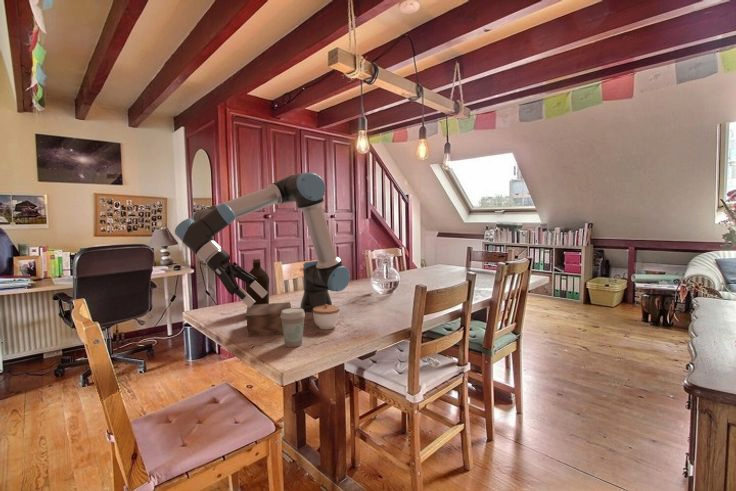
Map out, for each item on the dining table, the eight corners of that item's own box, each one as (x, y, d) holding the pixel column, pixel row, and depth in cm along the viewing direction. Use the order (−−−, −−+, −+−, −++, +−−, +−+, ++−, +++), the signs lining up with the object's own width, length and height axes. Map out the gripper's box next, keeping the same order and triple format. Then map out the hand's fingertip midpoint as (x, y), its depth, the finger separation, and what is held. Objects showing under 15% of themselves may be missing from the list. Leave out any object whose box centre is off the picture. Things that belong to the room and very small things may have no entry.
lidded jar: (307, 327, 143) (306, 304, 142) (326, 321, 151) (326, 299, 150) (326, 333, 136) (325, 309, 135) (345, 326, 144) (345, 303, 143)
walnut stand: (290, 320, 153) (289, 302, 152) (292, 332, 137) (292, 312, 136) (248, 324, 148) (247, 305, 148) (246, 337, 132) (245, 316, 131)
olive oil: (253, 317, 159) (251, 261, 157) (242, 312, 166) (240, 259, 164) (274, 312, 166) (273, 259, 164) (262, 308, 174) (260, 257, 172)
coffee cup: (277, 348, 120) (276, 313, 119) (285, 339, 129) (284, 307, 128) (302, 348, 120) (302, 313, 119) (308, 340, 128) (307, 307, 127)
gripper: (222, 260, 135) (263, 299, 136) (188, 269, 110) (238, 317, 111) (236, 246, 135) (276, 285, 135) (204, 252, 110) (254, 300, 111)
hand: (259, 299), depth 123 cm, fingers open, 13 cm apart
